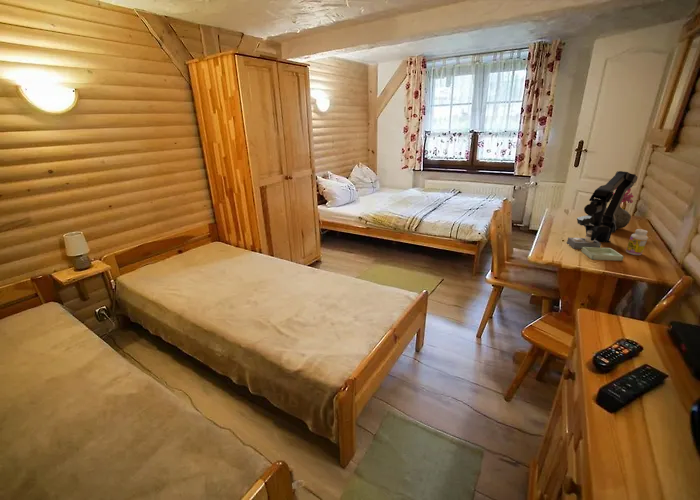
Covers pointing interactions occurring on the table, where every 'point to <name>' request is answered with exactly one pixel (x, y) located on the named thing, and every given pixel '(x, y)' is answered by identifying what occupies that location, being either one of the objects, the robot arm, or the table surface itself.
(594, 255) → the parts tray
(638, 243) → the supplement bottle
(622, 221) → the vase
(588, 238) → the cylinder
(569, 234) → the table surface
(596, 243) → the block
